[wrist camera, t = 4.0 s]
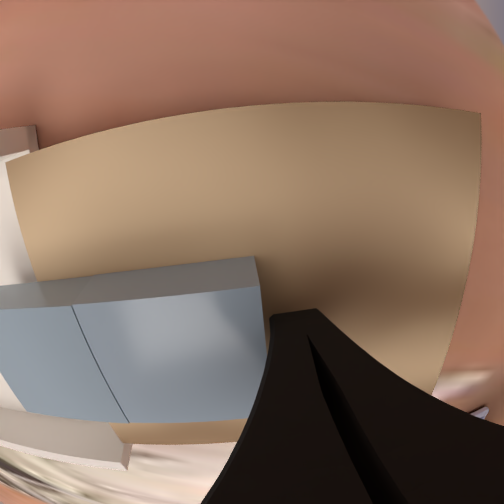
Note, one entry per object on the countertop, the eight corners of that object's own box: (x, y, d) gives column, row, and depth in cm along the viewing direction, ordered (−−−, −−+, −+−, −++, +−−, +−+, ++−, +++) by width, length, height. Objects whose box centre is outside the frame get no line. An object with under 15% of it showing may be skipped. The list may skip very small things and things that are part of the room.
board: (412, 371, 14) (429, 399, 12) (130, 411, 13) (122, 442, 11) (444, 110, 9) (480, 113, 7) (39, 153, 8) (5, 162, 7)
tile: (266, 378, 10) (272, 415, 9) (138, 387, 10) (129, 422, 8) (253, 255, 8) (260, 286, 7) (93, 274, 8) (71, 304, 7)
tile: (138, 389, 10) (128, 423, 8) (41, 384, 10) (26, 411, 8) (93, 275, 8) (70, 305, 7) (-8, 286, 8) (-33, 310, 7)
